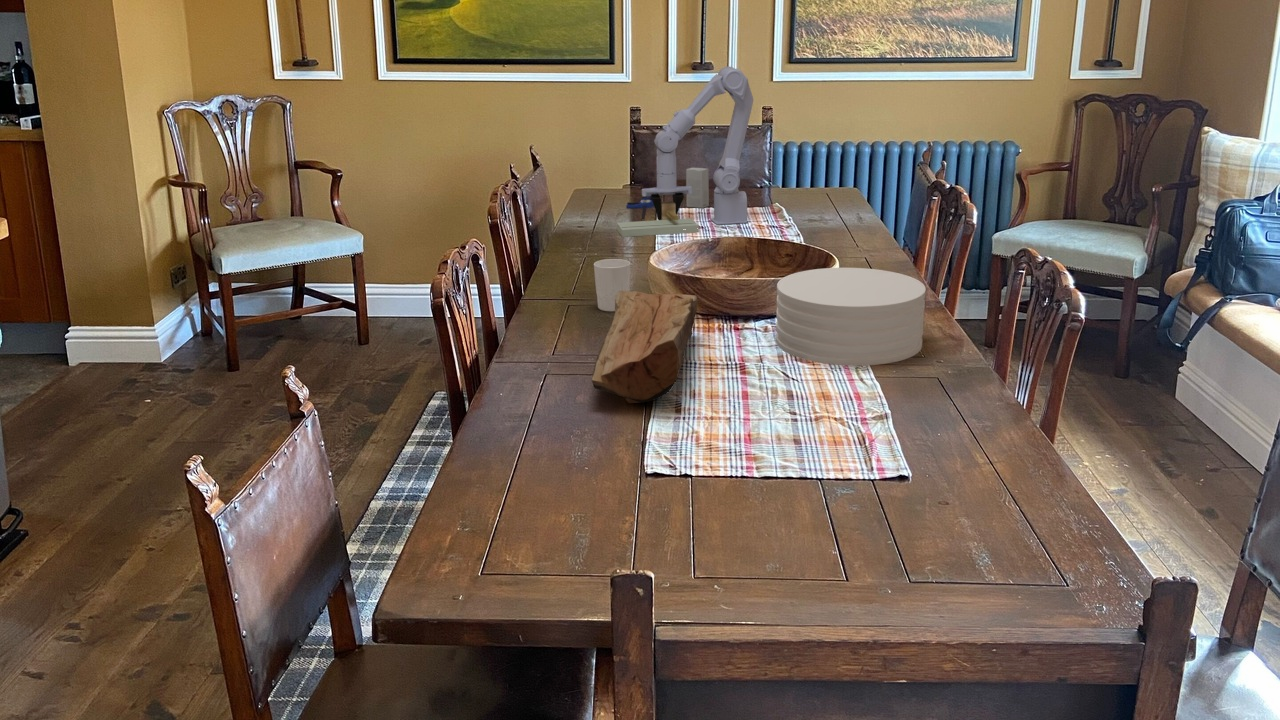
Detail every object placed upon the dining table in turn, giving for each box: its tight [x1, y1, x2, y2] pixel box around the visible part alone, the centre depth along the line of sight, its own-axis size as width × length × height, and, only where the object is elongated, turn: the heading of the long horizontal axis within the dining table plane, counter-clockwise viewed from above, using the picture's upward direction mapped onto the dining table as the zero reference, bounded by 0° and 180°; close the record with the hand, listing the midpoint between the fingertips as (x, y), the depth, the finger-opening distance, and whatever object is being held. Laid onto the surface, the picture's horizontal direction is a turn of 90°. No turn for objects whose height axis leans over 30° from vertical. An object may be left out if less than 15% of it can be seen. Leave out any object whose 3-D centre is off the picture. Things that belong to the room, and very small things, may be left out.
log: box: [591, 290, 698, 404], centre depth 196 cm, size 42×18×15 cm, turn 172°
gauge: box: [661, 200, 680, 221], centre depth 311 cm, size 4×12×6 cm, turn 12°
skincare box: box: [685, 167, 710, 209], centre depth 339 cm, size 6×4×12 cm
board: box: [616, 218, 700, 238], centre depth 308 cm, size 22×10×2 cm, turn 100°
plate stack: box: [775, 267, 927, 366], centre depth 208 cm, size 28×28×12 cm
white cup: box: [593, 258, 631, 313], centre depth 235 cm, size 8×8×10 cm
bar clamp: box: [625, 196, 655, 221], centre depth 334 cm, size 32×2×10 cm
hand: (667, 219), depth 316 cm, fingers closed on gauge, 4 cm apart
